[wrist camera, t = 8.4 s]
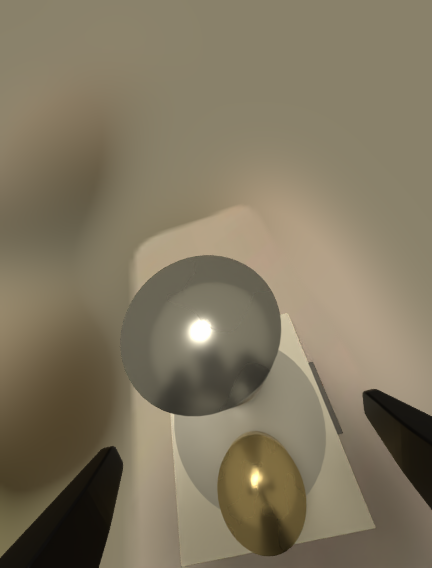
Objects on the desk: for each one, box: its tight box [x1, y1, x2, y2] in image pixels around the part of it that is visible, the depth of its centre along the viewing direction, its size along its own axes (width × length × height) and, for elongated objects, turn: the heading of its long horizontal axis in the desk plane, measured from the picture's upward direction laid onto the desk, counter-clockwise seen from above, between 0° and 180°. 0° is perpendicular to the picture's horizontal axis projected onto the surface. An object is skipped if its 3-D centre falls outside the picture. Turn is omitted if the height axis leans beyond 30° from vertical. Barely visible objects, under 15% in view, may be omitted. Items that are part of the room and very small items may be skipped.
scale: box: [171, 313, 376, 567], centre depth 17 cm, size 14×13×3 cm
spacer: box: [120, 255, 281, 416], centre depth 11 cm, size 4×4×13 cm
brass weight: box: [217, 431, 307, 556], centre depth 12 cm, size 5×5×2 cm
